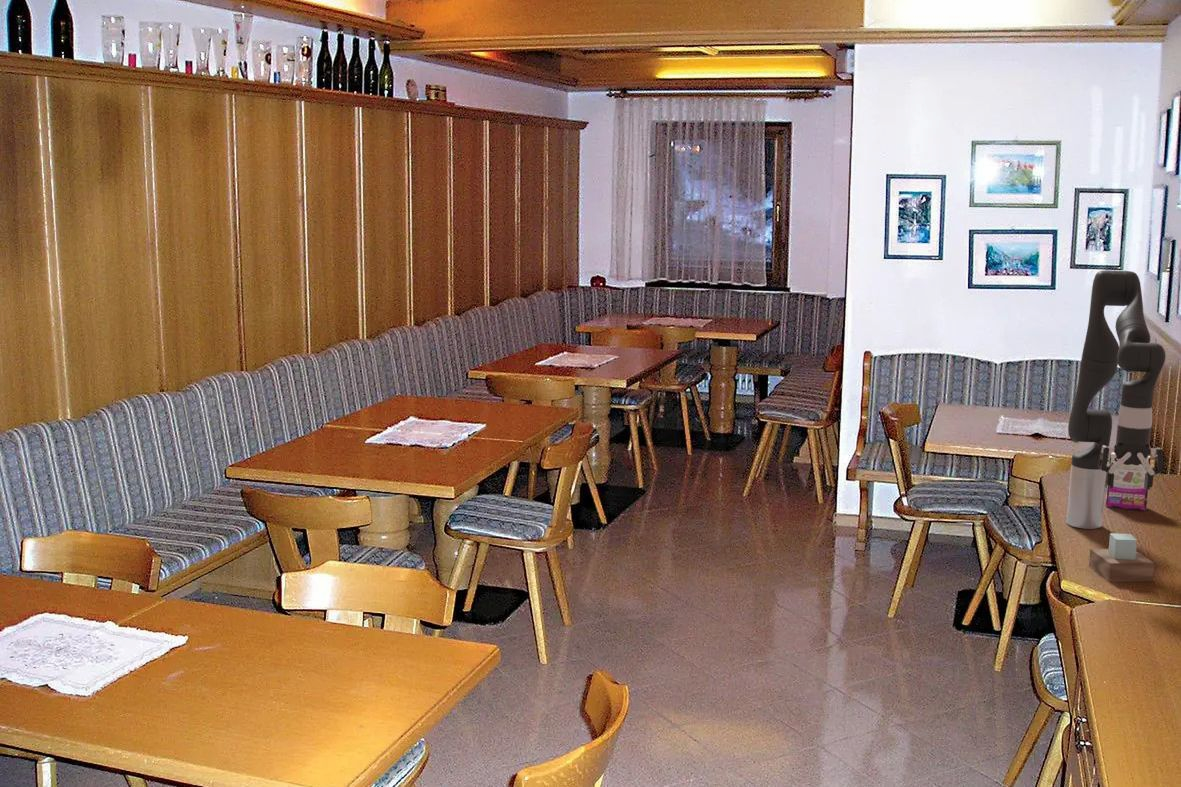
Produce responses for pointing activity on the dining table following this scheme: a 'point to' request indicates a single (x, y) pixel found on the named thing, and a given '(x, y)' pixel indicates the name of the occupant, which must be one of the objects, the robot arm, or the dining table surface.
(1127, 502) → the candy bar box
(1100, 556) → the walnut block
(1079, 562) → the dining table surface
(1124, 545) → the teal cube
